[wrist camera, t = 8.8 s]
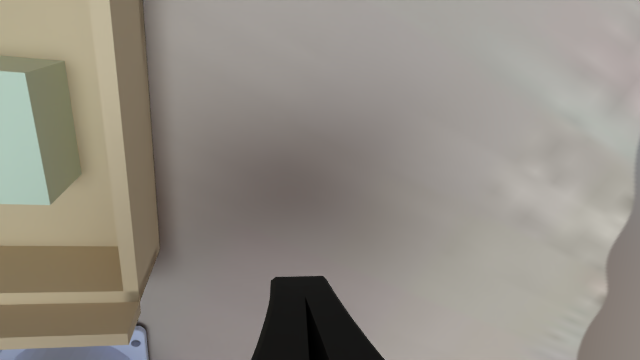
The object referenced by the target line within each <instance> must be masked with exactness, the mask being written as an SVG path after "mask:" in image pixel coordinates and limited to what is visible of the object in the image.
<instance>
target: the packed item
mask: <svg viewBox="0 0 640 360" xmlns="http://www.w3.org/2000/svg"><path fill="white" fill-rule="evenodd" d="M81 174H82V173H81V167H80V160H79V153H78V147H77V140H76V134H75V127H74V120H73V114H72V107H71V101H70V94H69V87H68V81H67V74H66V68H65V61H59V60H47V59H35V58H23V57H11V56H0V204H22V205H51V204H52V203H53V202H54V201H55V200H56V199H57V198H58V197H59V196H60V195H61V194H62V193H63V192H64V191H65V190H66V189H67V188H68V187H69V186H70V185H71V184H72V183H73V182H74V181H75V180H76V179H77V178H78V177H79V176H80V175H81Z"/></svg>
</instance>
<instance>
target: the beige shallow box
mask: <svg viewBox="0 0 640 360" xmlns="http://www.w3.org/2000/svg"><path fill="white" fill-rule="evenodd" d="M0 56H11V57H23V58H35V59H47V60H59V61H65V68H66V74H67V81H68V87H69V94H70V101H71V107H72V114H73V120H74V127H75V134H76V140H77V147H78V153H79V160H80V167H81V173H82V174H81V175H80V176H79V177H78V178H77V179H76V180H75V181H74V182H73V183H72V184H71V185H70V186H69V187H68V188H67V189H66V190H65V191H64V192H63V193H62V194H61V195H60V196H59V197H58V198H57V199H56V200H55V201H54V202H53V203H52V204H51V205H22V204H0V350H10V349H35V348H61V347H87V346H113V345H129V343H130V340H131V337H132V335H133V332H134V329H135V327H136V324H137V321H138V318H139V316H140V313H141V311H140V300H141V297H142V294H143V292H144V289H145V287H146V284H147V282H148V279H149V276H150V274H151V271H152V269H153V266H154V263H155V261H156V258H157V256H158V253H159V250H160V245H159V230H158V216H157V201H156V187H155V172H154V158H153V143H152V129H151V114H150V100H149V85H148V71H147V56H146V42H145V27H144V13H143V0H0Z"/></svg>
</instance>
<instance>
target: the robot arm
mask: <svg viewBox="0 0 640 360" xmlns="http://www.w3.org/2000/svg"><path fill="white" fill-rule="evenodd" d="M134 340H138V341H134ZM0 360H149V358H148V347H147V337H146V331H145V329H144V328H143V327H141V326H136V327H135V329H134V332H133V335H132V337H131V340H130V343H129V345H113V346H87V347H61V348H35V349H10V350H0ZM251 360H385V359H384V358H383V357H382V356H381V355H380V354H379V352H378V351H377V350H376V349H375V347H374V346H373V345H372V344H371V343H370V341H369V340H368V339H367V337H366V336H365V335H364V333H363V332H362V331H361V329H360V328H359V327H358V326H357V324H356V323H355V322H354V320H353V319H352V317H351V316H350V315H349V313H348V312H347V310H346V309H345V307H344V306H343V305H342V303H341V302H340V300H339V299H338V297H337V296H336V294H335V293H334V291H333V289H332V288H331V286H330V285H329V283H328V281H327V280H326V279H325V278H324V277H323V276H303V277H275V278H274V279H273V280H271V288H270V301H269V306H268V310H267V314H266V318H265V321H264V324H263V328H262V331H261V334H260V337H259V341H258V343H257V346H256V349H255V351H254V354H253V357H252V359H251Z"/></svg>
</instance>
